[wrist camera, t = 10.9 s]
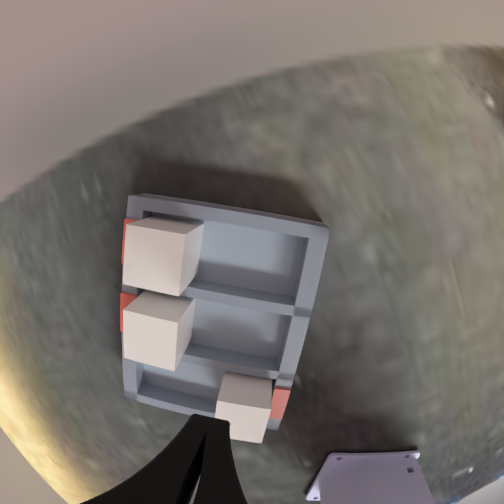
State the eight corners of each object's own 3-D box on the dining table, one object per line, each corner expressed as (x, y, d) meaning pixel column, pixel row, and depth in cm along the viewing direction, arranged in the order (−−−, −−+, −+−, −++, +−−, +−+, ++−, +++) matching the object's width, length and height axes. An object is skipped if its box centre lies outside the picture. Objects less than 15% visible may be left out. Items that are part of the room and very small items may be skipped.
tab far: (272, 370, 20) (271, 409, 16) (263, 403, 20) (261, 443, 16) (226, 363, 20) (217, 400, 16) (221, 396, 20) (212, 435, 16)
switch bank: (323, 222, 18) (331, 229, 16) (277, 408, 22) (277, 432, 19) (145, 193, 19) (126, 195, 16) (136, 378, 22) (123, 398, 19)
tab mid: (196, 294, 19) (178, 322, 15) (191, 337, 19) (174, 371, 16) (150, 285, 19) (123, 309, 15) (148, 327, 20) (123, 357, 16)
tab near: (204, 223, 18) (185, 234, 14) (197, 273, 18) (178, 296, 15) (155, 215, 18) (126, 224, 14) (150, 263, 19) (122, 283, 15)
